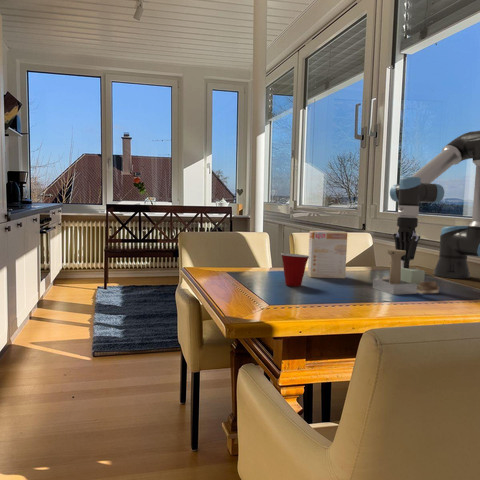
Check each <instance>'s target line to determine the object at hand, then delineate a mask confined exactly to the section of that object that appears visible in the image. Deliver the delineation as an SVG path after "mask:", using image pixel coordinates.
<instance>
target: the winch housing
mask: <svg viewBox="0 0 480 480" xmlns="http://www.w3.org/2000/svg"><path fill="white" fill-rule="evenodd" d="M372 289H374V290H378V291H381V292H383V293H386V294H390V295H395V296H396V295H414V294H418V293H417V284H415V283H411V282H407V281H403V280H400V284H392V283H389V279H383V278H373V279H372Z"/></svg>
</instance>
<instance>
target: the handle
mask: <svg viewBox="0 0 480 480" xmlns="http://www.w3.org/2000/svg"><path fill="white" fill-rule="evenodd" d="M386 254H388V255H390V256H391V257H390V267H389V275H388V277H389V283H392V284H400V279H401V257H402V256H404V255H405V254H406V251H404V250H396V249H390V248H389V249H387V253H386Z"/></svg>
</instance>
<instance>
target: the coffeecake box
mask: <svg viewBox="0 0 480 480" xmlns="http://www.w3.org/2000/svg"><path fill="white" fill-rule="evenodd" d="M347 247H348V232H346V231H338V230H337V231H336V230H335V231H333V230H332V231H331V230H309V239H308V256H309V258H308V260H307V276H309V277H310V278H317V279H319V278H322V279H323V278H325V279H327V278H328V279H346V270H347V269H346V268H347V266H346V265H347V253H348V252H347V251H348V249H347Z"/></svg>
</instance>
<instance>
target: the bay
mask: <svg viewBox="0 0 480 480" xmlns="http://www.w3.org/2000/svg"><path fill="white" fill-rule="evenodd" d="M382 279H389V276H382ZM439 293H440V285H437V281H436V280H435V281H424V282H420V286H418V285H417V293H416V294H439Z"/></svg>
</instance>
